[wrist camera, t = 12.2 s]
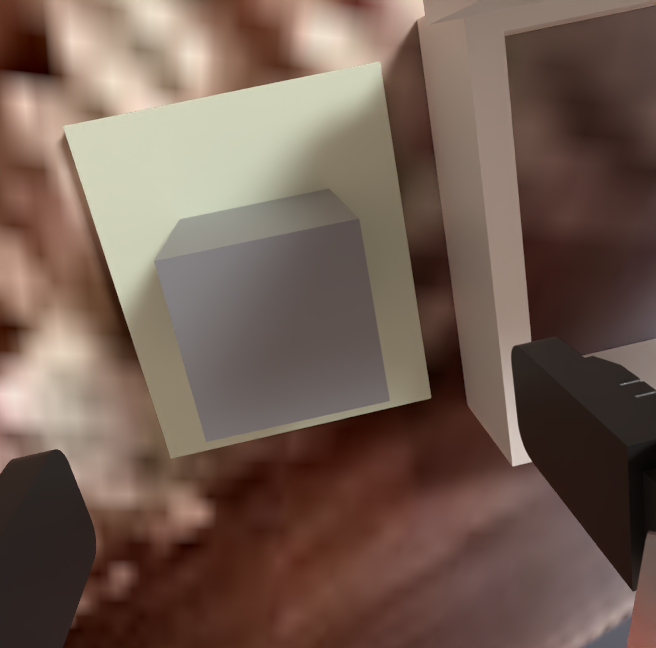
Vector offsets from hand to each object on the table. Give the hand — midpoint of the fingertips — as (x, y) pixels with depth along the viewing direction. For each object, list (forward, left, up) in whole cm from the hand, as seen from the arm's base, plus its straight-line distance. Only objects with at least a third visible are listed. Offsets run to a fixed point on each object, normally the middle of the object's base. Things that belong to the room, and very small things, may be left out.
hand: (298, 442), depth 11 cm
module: (0, 0, -11) cm, 11 cm away
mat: (0, 0, -12) cm, 12 cm away
